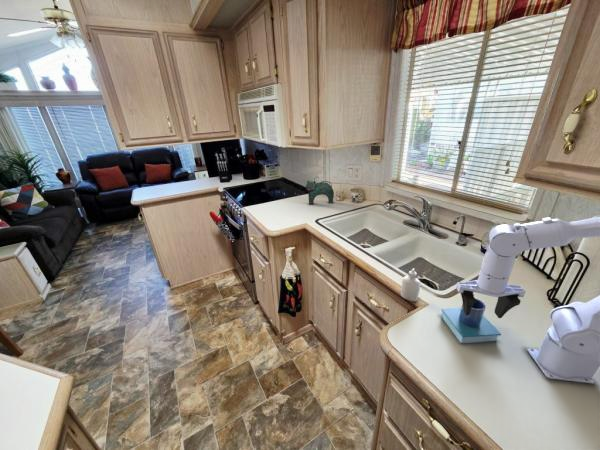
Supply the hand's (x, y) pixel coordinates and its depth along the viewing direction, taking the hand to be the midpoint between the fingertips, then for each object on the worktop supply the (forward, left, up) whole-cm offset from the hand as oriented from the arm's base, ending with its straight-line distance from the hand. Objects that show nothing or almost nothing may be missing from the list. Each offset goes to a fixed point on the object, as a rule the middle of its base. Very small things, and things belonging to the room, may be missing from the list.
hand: (481, 314), depth 66 cm
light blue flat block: (0, -4, -10) cm, 10 cm away
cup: (0, -4, -7) cm, 8 cm away
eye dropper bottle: (+14, -16, -10) cm, 23 cm away
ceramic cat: (+56, -114, -10) cm, 128 cm away
